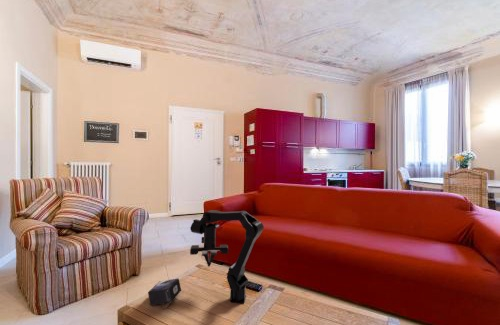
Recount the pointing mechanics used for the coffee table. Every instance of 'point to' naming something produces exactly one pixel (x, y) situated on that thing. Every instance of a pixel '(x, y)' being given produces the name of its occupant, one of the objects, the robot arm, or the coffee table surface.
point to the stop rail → (165, 305)
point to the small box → (164, 291)
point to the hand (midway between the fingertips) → (209, 266)
